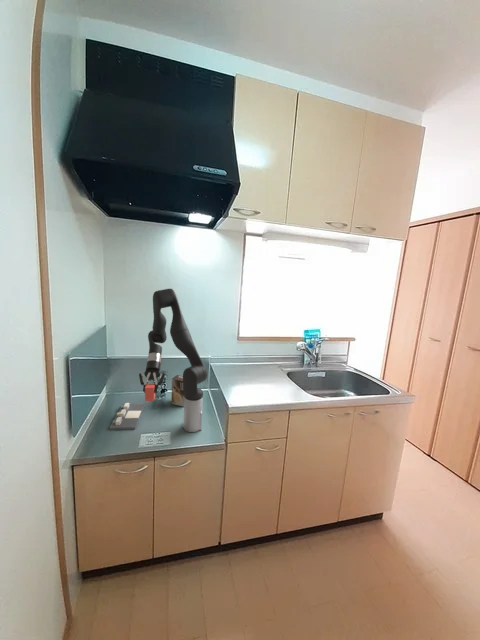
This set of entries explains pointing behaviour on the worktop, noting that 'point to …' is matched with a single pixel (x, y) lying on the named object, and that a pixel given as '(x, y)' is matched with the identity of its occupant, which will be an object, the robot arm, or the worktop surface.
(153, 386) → the coral red square block
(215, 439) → the worktop surface
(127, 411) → the panel
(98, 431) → the worktop surface
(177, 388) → the coffee box
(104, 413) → the worktop surface
